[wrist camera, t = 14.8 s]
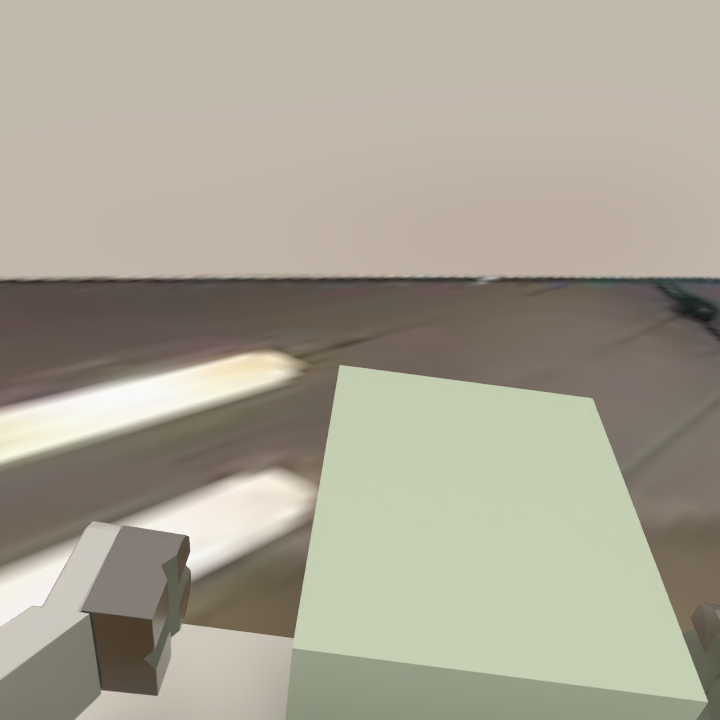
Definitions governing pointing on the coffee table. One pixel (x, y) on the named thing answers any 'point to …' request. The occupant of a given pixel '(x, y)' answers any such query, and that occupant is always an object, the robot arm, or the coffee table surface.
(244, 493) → the coffee table surface
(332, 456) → the sage green pillar
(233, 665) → the rubber mat
